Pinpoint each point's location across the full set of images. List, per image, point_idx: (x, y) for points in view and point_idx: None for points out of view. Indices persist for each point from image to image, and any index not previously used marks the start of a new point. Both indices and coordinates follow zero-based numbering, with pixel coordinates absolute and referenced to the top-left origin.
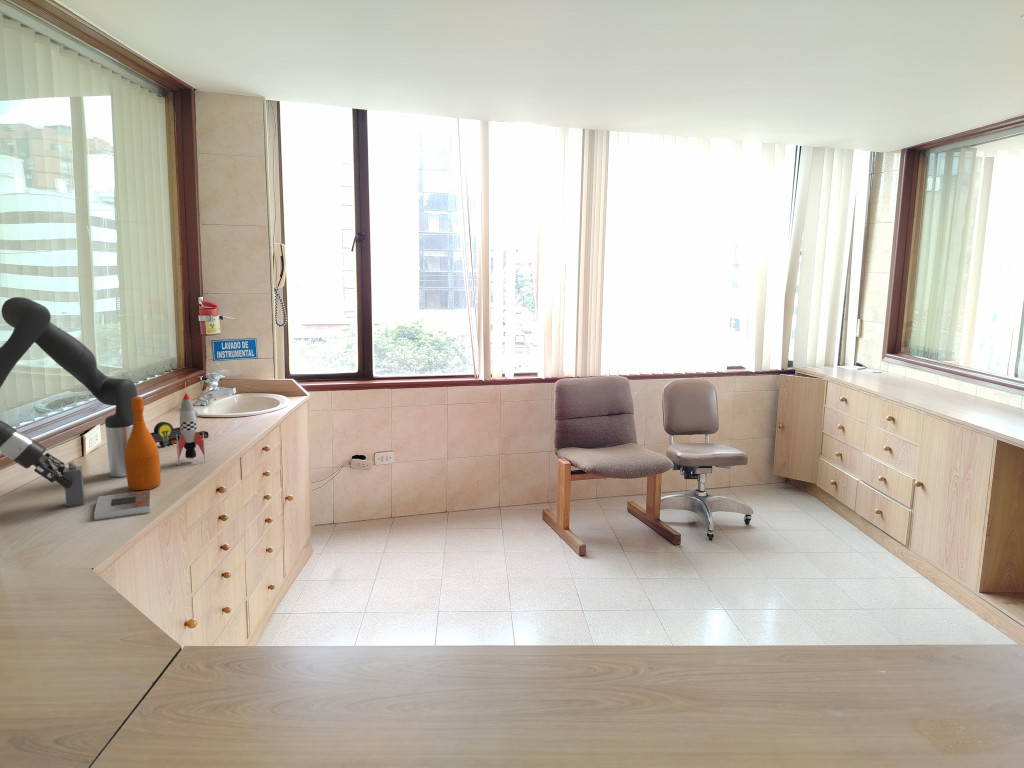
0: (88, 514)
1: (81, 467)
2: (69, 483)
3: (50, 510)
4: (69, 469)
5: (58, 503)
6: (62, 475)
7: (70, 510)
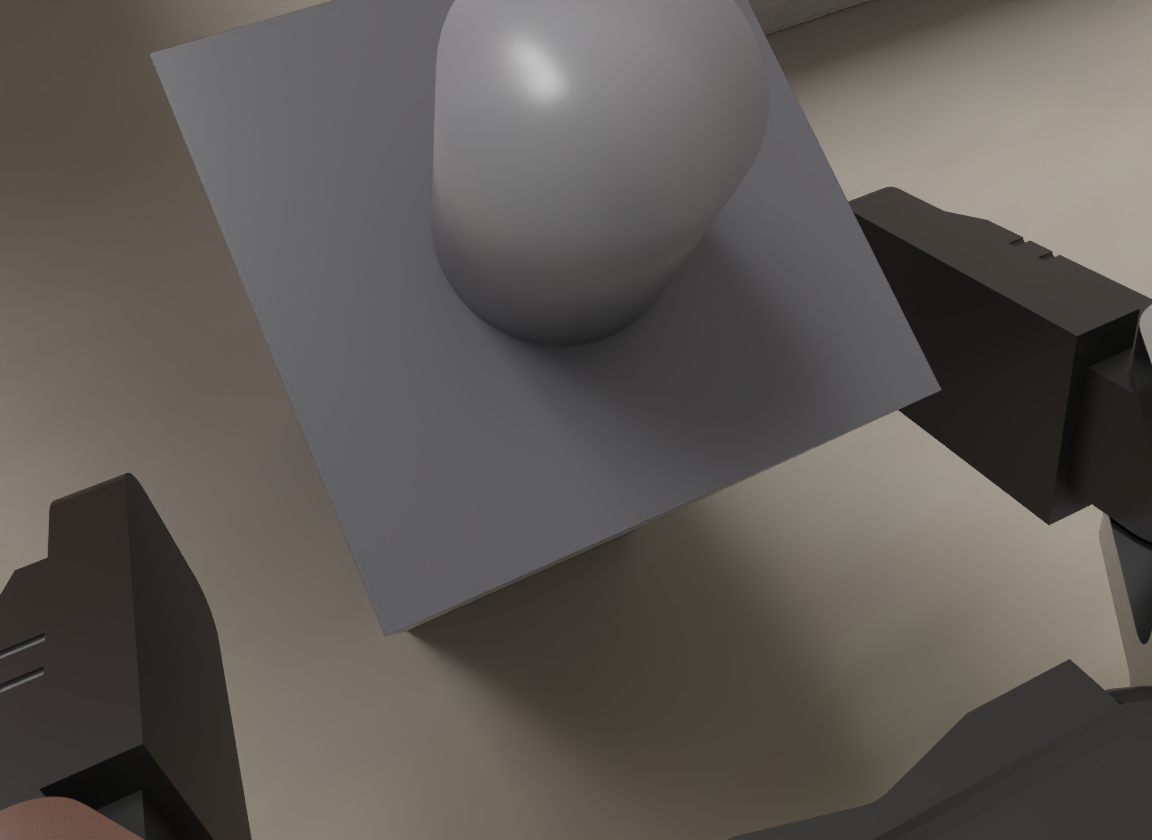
0: (919, 78)
1: (312, 16)
2: (963, 220)
3: (779, 711)
4: (664, 287)
5: (440, 788)
6: (1081, 329)
7: None
